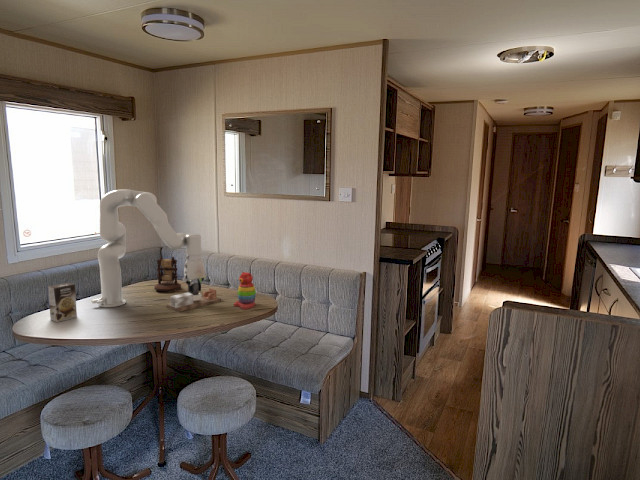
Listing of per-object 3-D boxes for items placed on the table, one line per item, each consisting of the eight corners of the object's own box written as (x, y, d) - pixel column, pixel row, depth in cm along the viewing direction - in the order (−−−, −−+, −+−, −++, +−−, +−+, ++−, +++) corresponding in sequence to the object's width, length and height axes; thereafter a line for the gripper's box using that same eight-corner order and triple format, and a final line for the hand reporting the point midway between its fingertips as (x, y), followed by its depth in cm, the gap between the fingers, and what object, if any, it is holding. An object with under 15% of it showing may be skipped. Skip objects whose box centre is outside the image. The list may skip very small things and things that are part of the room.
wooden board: (179, 311, 211) (178, 299, 210) (166, 306, 219) (165, 295, 218) (221, 300, 230) (220, 289, 229) (207, 296, 238) (207, 285, 237)
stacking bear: (232, 305, 223) (231, 272, 221) (247, 301, 231) (247, 269, 228) (244, 310, 216) (244, 276, 213) (260, 305, 223) (260, 272, 220)
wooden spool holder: (184, 286, 257) (183, 254, 254) (177, 293, 243) (176, 259, 240) (159, 286, 256) (157, 254, 253) (150, 293, 242) (149, 258, 239)
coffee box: (57, 322, 193) (54, 288, 190) (50, 319, 196) (47, 286, 194) (77, 317, 201) (75, 284, 198) (70, 314, 204) (67, 282, 201)
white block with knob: (178, 305, 215) (177, 287, 213) (173, 303, 217) (173, 286, 216) (202, 299, 225) (201, 282, 224) (197, 297, 228) (197, 281, 227)
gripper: (183, 260, 212) (184, 296, 215) (211, 256, 225) (212, 289, 228) (175, 258, 217) (176, 293, 220) (203, 254, 230) (204, 287, 232)
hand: (194, 291), depth 224 cm, fingers closed on white block with knob, 4 cm apart
